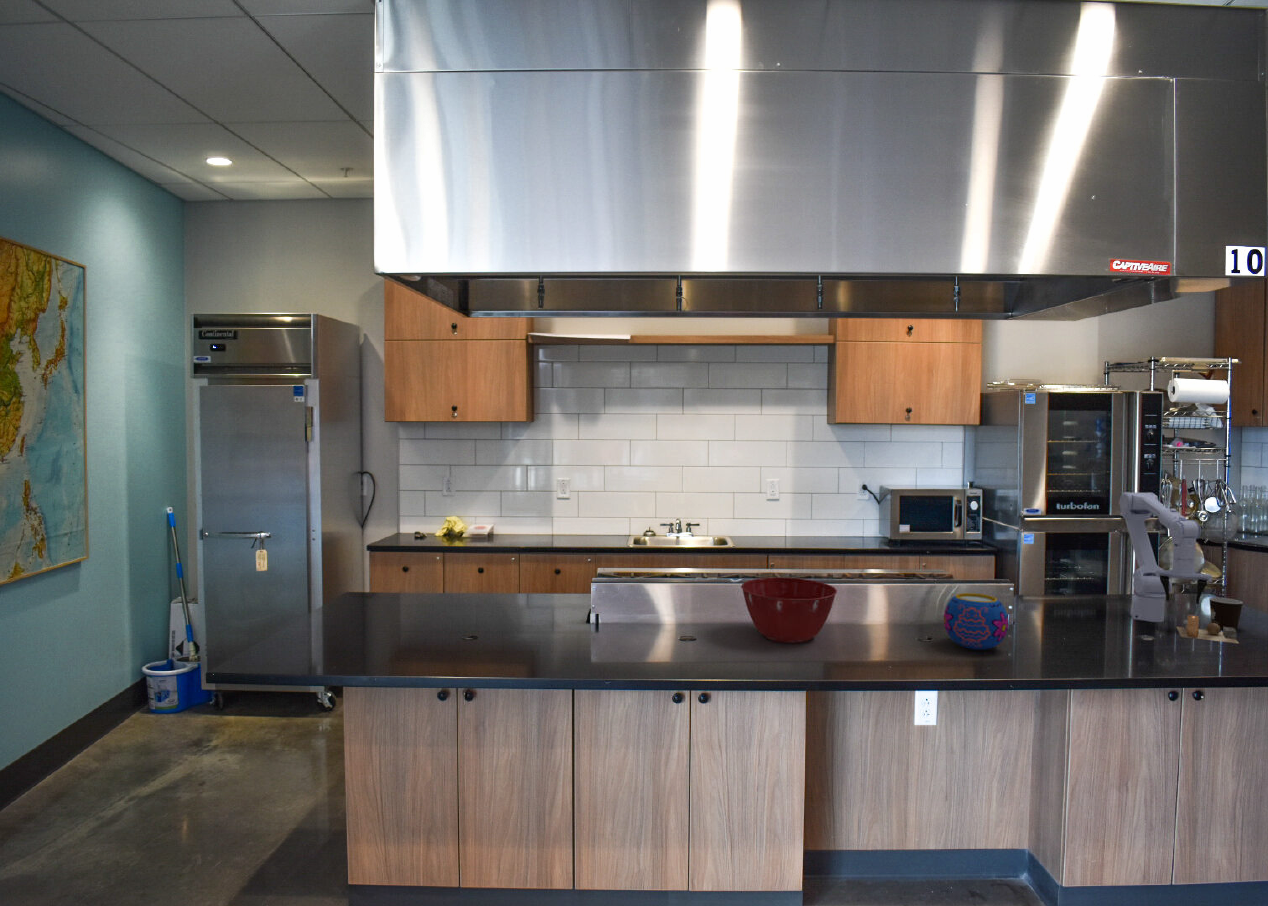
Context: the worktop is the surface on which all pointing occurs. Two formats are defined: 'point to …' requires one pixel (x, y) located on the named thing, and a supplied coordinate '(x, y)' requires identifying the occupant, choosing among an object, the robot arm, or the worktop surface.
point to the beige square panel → (1224, 636)
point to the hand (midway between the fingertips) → (1182, 601)
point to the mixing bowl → (788, 607)
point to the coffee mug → (1225, 612)
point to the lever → (1192, 625)
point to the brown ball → (1213, 628)
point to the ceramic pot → (976, 621)
